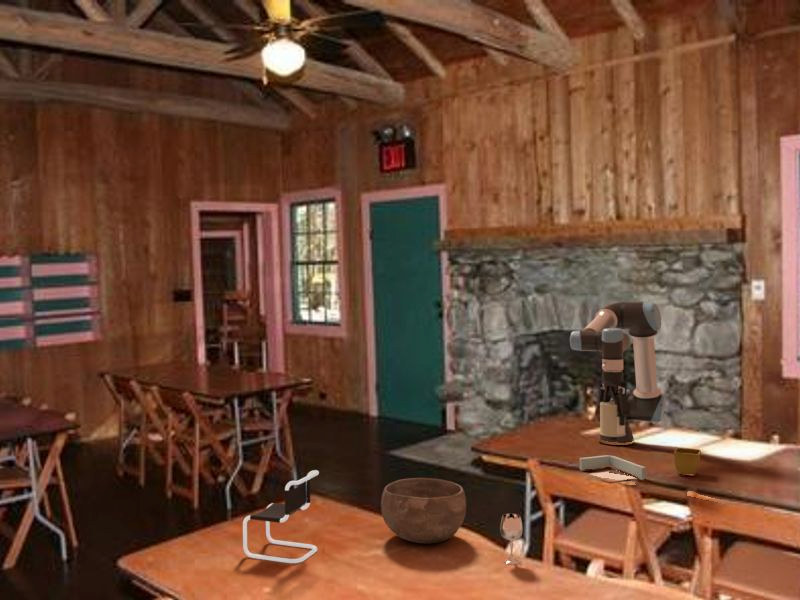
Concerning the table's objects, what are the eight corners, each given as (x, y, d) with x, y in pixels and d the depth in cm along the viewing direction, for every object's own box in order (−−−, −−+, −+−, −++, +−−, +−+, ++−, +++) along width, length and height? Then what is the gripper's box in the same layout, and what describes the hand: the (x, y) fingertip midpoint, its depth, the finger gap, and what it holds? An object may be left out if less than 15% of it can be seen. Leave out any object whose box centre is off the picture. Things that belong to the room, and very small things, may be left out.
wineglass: (498, 557, 211) (498, 513, 211) (519, 557, 212) (519, 512, 211) (503, 565, 206) (502, 520, 205) (525, 565, 206) (524, 519, 206)
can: (595, 434, 292) (595, 402, 291) (607, 430, 299) (607, 399, 298) (618, 437, 286) (618, 404, 285) (630, 433, 292) (630, 401, 292)
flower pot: (701, 473, 298) (701, 449, 298) (699, 478, 290) (699, 454, 290) (676, 470, 302) (676, 447, 301) (673, 476, 294) (673, 452, 293)
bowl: (439, 560, 210) (439, 503, 210) (364, 544, 223) (363, 491, 223) (480, 534, 231) (479, 483, 230) (409, 521, 244) (408, 472, 243)
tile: (616, 472, 300) (616, 470, 300) (636, 479, 289) (636, 478, 289) (589, 475, 296) (589, 473, 296) (608, 483, 285) (608, 481, 285)
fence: (610, 466, 310) (610, 454, 309) (645, 479, 289) (645, 467, 289) (579, 469, 305) (579, 458, 305) (612, 483, 284) (612, 471, 284)
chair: (299, 565, 208) (298, 481, 207) (242, 557, 214) (241, 476, 213) (322, 549, 220) (321, 470, 219) (267, 541, 226) (266, 465, 225)
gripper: (587, 367, 300) (587, 427, 301) (621, 374, 280) (621, 438, 281) (604, 366, 303) (604, 425, 304) (639, 373, 282) (639, 436, 283)
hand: (612, 431), depth 292 cm, fingers closed on can, 9 cm apart
